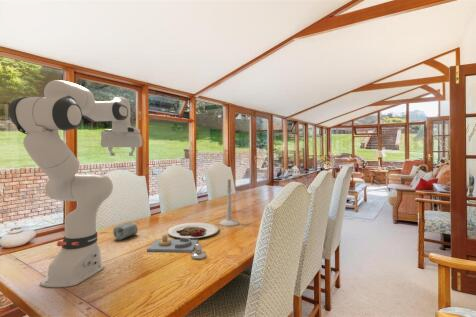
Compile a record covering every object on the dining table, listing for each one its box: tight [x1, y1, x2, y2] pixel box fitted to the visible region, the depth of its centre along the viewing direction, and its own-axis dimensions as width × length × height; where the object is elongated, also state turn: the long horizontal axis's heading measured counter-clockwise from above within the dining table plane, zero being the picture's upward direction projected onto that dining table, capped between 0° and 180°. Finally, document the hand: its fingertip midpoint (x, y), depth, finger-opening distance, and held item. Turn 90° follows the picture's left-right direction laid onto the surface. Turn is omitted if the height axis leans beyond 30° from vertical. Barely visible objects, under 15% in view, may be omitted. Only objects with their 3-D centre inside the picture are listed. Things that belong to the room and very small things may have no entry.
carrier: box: [146, 233, 199, 253], centre depth 133 cm, size 14×22×6 cm, turn 88°
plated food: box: [167, 222, 219, 240], centre depth 157 cm, size 30×30×3 cm
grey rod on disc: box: [219, 178, 240, 227], centre depth 174 cm, size 13×13×30 cm
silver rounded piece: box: [190, 242, 207, 261], centre depth 120 cm, size 7×7×6 cm
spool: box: [112, 221, 138, 241], centre depth 147 cm, size 14×10×10 cm
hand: (121, 156), depth 136 cm, fingers open, 8 cm apart
